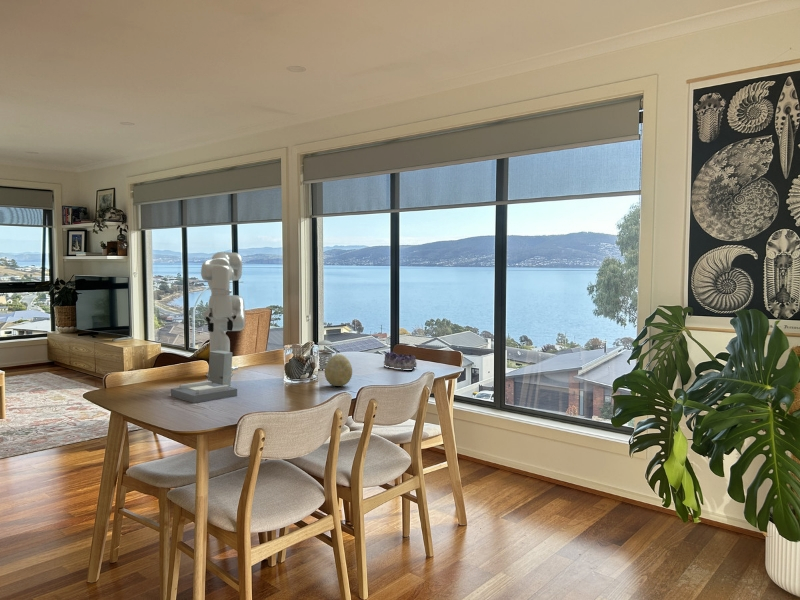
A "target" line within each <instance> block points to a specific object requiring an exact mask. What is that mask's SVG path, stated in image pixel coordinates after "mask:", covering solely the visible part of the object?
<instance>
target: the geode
mask: <svg viewBox="0 0 800 600" xmlns="http://www.w3.org/2000/svg"><path fill="white" fill-rule="evenodd" d="M384 365H386V366H389V367H394V368H401V369H413V368H414V367H416V368H417V360H416V356H415V355H413V354H412V355H411V354H402V353H400V354H397V353H395V351H393V350H392V351H390V352H387V353H384V361H383V366H384ZM414 369H415V368H414ZM414 369H413V370H414Z"/></svg>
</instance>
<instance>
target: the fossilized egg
mask: <svg viewBox="0 0 800 600" xmlns="http://www.w3.org/2000/svg"><path fill="white" fill-rule="evenodd" d="M327 361H328V360H327ZM326 363H327V364H326V366H325V370H324V377H325V380H326V381H327V383H329V385H331V386H332V387H335V386H341V387H344V386H345V385H347V384H348V383H349V382H350V381H351V379H352V376H353V367H352V364H351V362H350V360H349V359H348V358H347V357H346V356H345V355H343V354H340V353H337V354H336V353H335V354H334V355H332V357H331V358H330V359H329V361H328V362H326ZM343 385H344V386H343Z"/></svg>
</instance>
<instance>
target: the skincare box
mask: <svg viewBox="0 0 800 600" xmlns="http://www.w3.org/2000/svg"><path fill="white" fill-rule="evenodd" d="M208 360H209V361H208V370H207V373H208V377H207V381H212V383H217V384H221V385H228V386H229V387H231V384H232V382H231V380H232V376H231V369H232V367H233V365H232V364H233V352H231V351H230V352H226V351H211V352H210V351H209V359H208Z"/></svg>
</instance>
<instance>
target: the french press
mask: <svg viewBox="0 0 800 600" xmlns="http://www.w3.org/2000/svg"><path fill="white" fill-rule="evenodd" d="M323 325H324V326H327V325H328V323H327V322H325V321H324V322H323ZM317 345H318V346H330V348H331V349H334V350H335V355H336V354H338V349H337V348H336V347H335V346H334V345H333V342H332V341H330V340H327V339H323V340H320V341H318V342H317ZM331 349H319V352H318V353H319V357H320V359H319V361H320V362H319V363H320V364H319V365H320V369H325V366H326V364H327V362H328V361H329V359H330V358H331V357H333V353H332V350H331Z"/></svg>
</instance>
